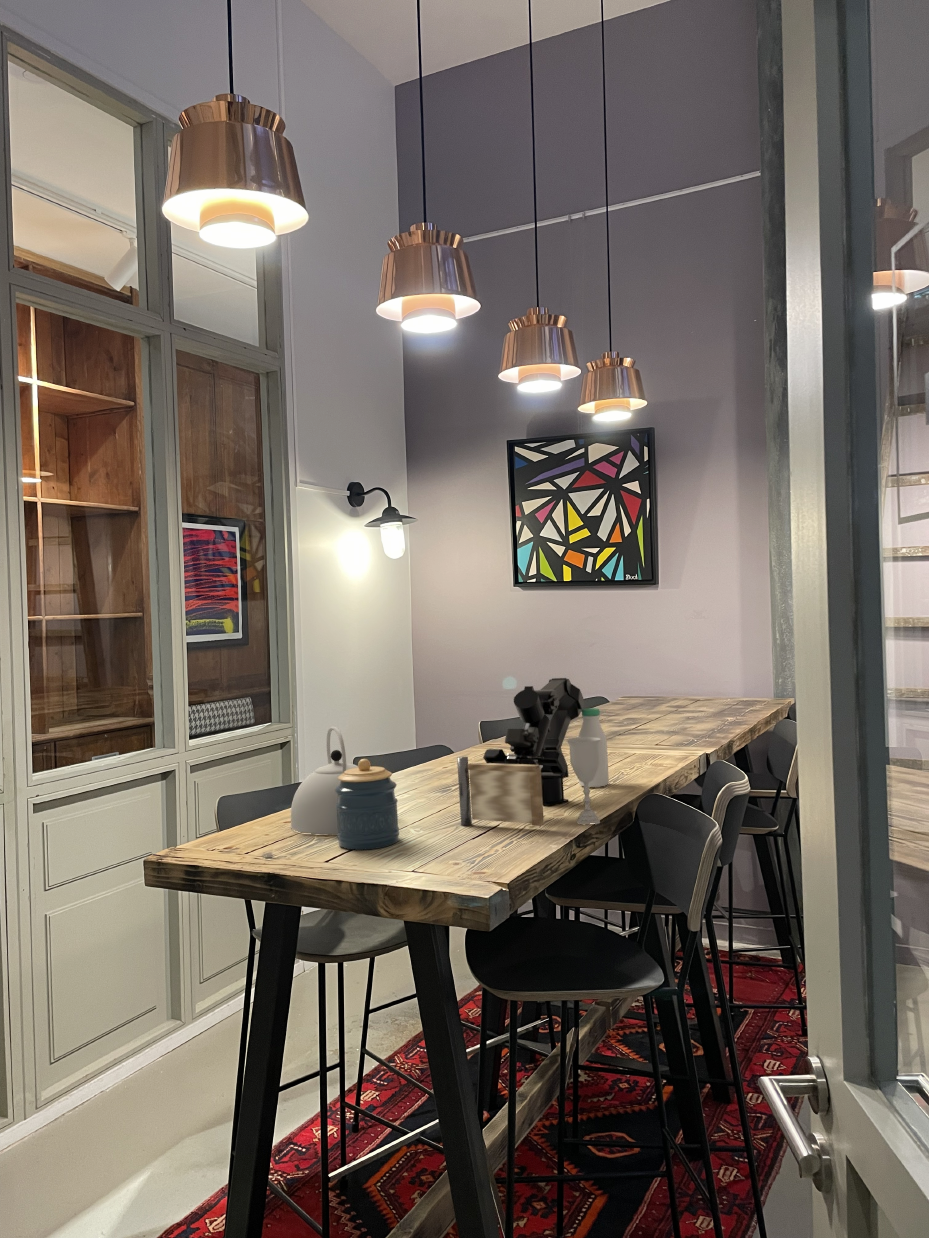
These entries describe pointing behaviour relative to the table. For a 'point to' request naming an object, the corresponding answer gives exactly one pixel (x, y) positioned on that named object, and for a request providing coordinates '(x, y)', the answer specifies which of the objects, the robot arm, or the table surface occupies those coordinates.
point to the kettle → (320, 794)
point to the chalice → (585, 770)
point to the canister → (366, 808)
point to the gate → (506, 792)
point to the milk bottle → (594, 729)
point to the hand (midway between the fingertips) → (514, 792)
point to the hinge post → (464, 791)
